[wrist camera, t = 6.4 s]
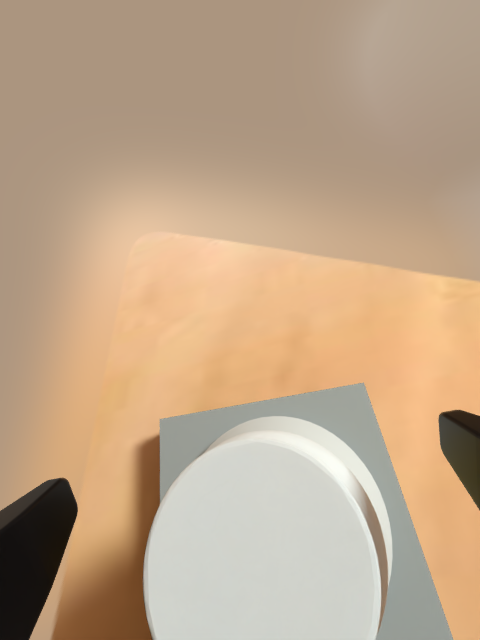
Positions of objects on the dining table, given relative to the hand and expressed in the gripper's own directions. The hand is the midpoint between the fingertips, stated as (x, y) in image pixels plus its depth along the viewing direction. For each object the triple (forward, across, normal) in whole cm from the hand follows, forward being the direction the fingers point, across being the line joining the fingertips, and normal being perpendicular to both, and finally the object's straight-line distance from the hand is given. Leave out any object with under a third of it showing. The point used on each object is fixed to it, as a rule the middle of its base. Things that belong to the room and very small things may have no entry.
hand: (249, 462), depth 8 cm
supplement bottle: (+5, 0, +7) cm, 8 cm away
